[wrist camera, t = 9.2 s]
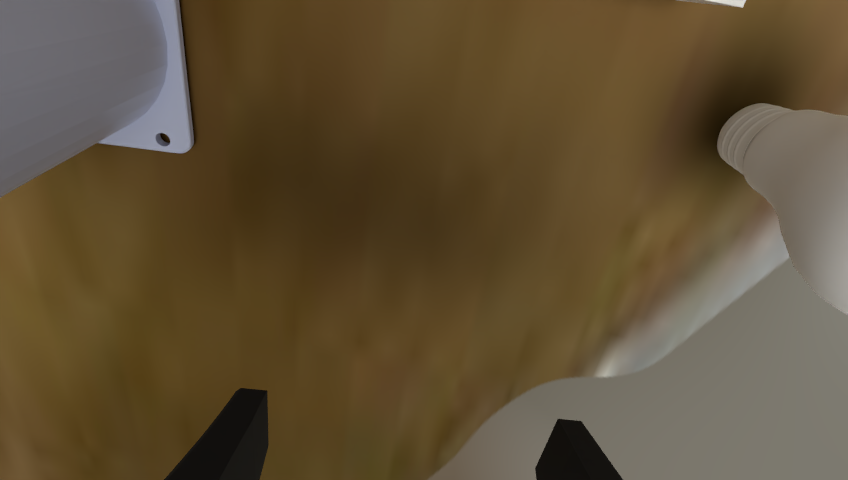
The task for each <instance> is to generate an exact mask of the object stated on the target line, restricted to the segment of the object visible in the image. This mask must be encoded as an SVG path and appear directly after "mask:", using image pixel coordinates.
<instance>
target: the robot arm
mask: <svg viewBox="0 0 848 480" xmlns="http://www.w3.org/2000/svg"><path fill="white" fill-rule="evenodd" d="M160 133H164V134H166V135H167V136H168V137H169V139H170V143H167V142H165V141H163V140H162V138H161V136H160ZM96 143H101V144H109V145H117V146H124V147H132V148H140V149H148V150H156V151H163V152H171V153H185V152H187V151H189V150H190V149H191V148H192V146H193V145H194V135H193V126H192V117H191V107H190V98H189V89H188V79H187V70H186V61H185V51H184V42H183V33H182V23H181V14H180V5H179V0H0V197H2V196H4V195H5V194H7V193H9V192H11V191H12V190H14V189H16V188H18V187H20V186H21V185H23V184H25V183H27V182H28V181H30V180H32V179H34V178H36V177H37V176H39V175H41V174H43V173H44V172H46V171H48V170H50V169H51V168H53V167H55V166H57V165H59V164H60V163H62V162H64V161H66V160H67V159H69V158H71V157H73V156H75V155H76V154H78V153H80V152H82V151H83V150H85V149H87V148H89V147H91V146H92V145H94V144H96ZM267 449H268V407H267V391H265V390H255V389H245V388H240V389H239V390H237V391H236V392H235V394H234V395H233V396H232V398H231V399H230V401H229V402H228V403H227V405H226V406H225V407H224V409H223V410H222V411H221V413H220V414H219V415H218V416H217V418H216V419H215V420H214V422H213V423H212V424H211V425H210V427H209V428H208V429H207V430H206V431H205V433H204V434H203V435H202V436H201V438H200V439H199V440H198V441H197V442H196V444H195V445H194V446H193V447H192V448H191V449H190V451H189V452H188V453H187V454H186V455H185V456H184V458H183V459H182V460H181V461H180V462H179V463H178V465H177V466H176V467H175V468H174V469H173V470H172V471H171V473H170V474H169V475H168V476H167V477H166V478H165V479H164V480H259V479H260V475H261V472H262V468H263V464H264V460H265V456H266V453H267ZM535 469H536V478H537V480H623V479H622V478H621V476H620V475H619V474H618V472H617V471H616V470H615V468H614V467H613V465H612V464H611V462H610V461H609V460H608V458H607V457H606V455H605V454H604V453H603V452H602V450H601V448H600V447H599V446H598V444H597V443H596V441H595V440H594V438H593V437H592V436H591V435H590V433H589V431H588V430H587V429H586V427H585V426H584V424H583V423H582V422H581V421H574V420H563V419H558V420H557V422H556V424H555V426H554V429H553V431H552V433H551V435H550V437H549V440H548V442H547V444H546V446H545V448H544V451H543V453H542V455H541V457H540V459H539V462H538V464H537V466H536V468H535Z"/></svg>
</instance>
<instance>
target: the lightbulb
mask: <svg viewBox="0 0 848 480" xmlns="http://www.w3.org/2000/svg"><path fill="white" fill-rule="evenodd" d="M717 149H718V153H719V155H720V157H721V158H722V159H723V160H724V161H725V162H726V163H727V164H729V165H730V166H732V167H733V168H734V169H736V170H737V171H739V172H740V173H741V174H743V175H744V177H745V180H746V181H747V183H748V184H749V185H750V186H751V188H753V189H754V190H755V191H757V192H758V193H760V194H761V195H762V196H764V198H765V199H766V200H767V201H768V202H769V203H770V204H771V205H772V206H773V208H774V210H775V212H776V214H777V216H778V219H779V224H780V229H781V233H782V236H783V239H784V242H785V244H786V247H787V250H788V253H789V255H790V258H791V260H792V263H793V265H794V267H795V268H796V270H797V271H798V272H799V274H800V275H801V276H802V278H803V279H804V280H805V281H806V283H807V284H808V285H809V286H810V287H811V289H812V290H813V291H814V292H815V293H816V294H817V295H819V296H820V297H821V298H822V299H824V300H825V301H826V302H828V303H829V304H830V305H832V306H833V307H835V308H836V309H838V310H840V311H841V312H843V313H845V314H847V315H848V116H846V115H835V114H831V113H827V112H823V111H819V110H811V109H809V110H797V111H794V110H791V109H788V108H783V107H781V106H775V105H771V104H766V103H758V104H753V105H749V106H747V107H745V108H743V109H741V110H740V111H738V112H736V113H735V114H734V115H733V116H731V117H730V118H729V119H728V121H727V122H726V123H725V124H724V126H723V127H722V129H721V131H720V133H719V137H718V141H717Z"/></svg>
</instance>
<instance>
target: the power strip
mask: <svg viewBox="0 0 848 480" xmlns="http://www.w3.org/2000/svg"><path fill="white" fill-rule="evenodd" d="M677 1H686V2H696V3H705V4H714V5H724V6H733V7H743V6H744V4H745V1H746V0H677Z"/></svg>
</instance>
